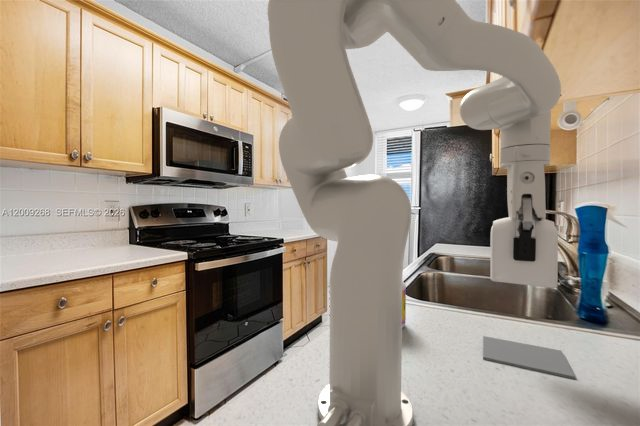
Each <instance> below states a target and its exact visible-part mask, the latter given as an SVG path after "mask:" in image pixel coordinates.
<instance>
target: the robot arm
mask: <svg viewBox="0 0 640 426" xmlns="http://www.w3.org/2000/svg"><path fill="white" fill-rule="evenodd" d="M267 18H268V34H269V42H270V44H269V45H270V48H271V55H272V59H273V62H274V65H275V69H276V71H277V75H278V78H279V80H280V84H281V87H282V89H283V92H284V95H285V98H286V101H287V104H288V106H289V108H290V112H291V117H290V118H289V119H288V120H287V121H286V123H285V124H284V126H283V127H282V129H281V131H280V135H279V137H278V151H279V152H278V153H279V158H280V162H281V164H282V167H283V170H284V172H285V176H286V177H287V179H288V182H289V185H290V186H291V189H292V192H293V193H294V197H295V199H296V201H297V204H298V206H299V207H300V208H299V209H300V210H301V213H302V214H303V217H304V218H305V221H306V222H307V224H308V227H310V229H311V230H313V232H314V233H315V234H316V235H318V236H319V237H321V238H323V239H326V240H329V241H332V242H336V243H337V246H336V250H335V252H334V257H333V258H332V263H331V268H330V274H329V275H330V276H329V375H328V376H329V383H328V384H327V385H325V387H324V388H323V389H322V390H321V392H320V394H319V395H318V400H317V413H318V417H319V420H320V421H319V422H318V424H317V426H413V424H414V407H413V406H414V405H412V402H411V399H409V397H408V396H407V394H405V393H404V392H403V391H402V360H403V356H402V353H403V351H402V349H403V348H402V347H403V346H402V343H403V328H402V281H403V271H404V259H405V251H406V247H407V242H408V239H409V233H410V228H411V223H412V205H411V201H410V198H409V195H408V193H407V192H406V190H405V189H404V188H403V186H402V185H400V183H398V182H397V181H395V180H393V179H392V178H390V177H387V176H384V175H379V174H378V175H377V174H363V175H357V176H356V175H355V176H349V177H348V176H347V174H346V173H347V172H346V170H348V169H350V168H353V167H357V166H358V165H359V164H361V163H363V162H364V161H365V160H366V159H367V158H368V156H369V155H370V154H371V153H372V149H373V144H374V134H373V129H372V126H371V122H370V119H369V117H368V116H369V115H368V112H367V111H366V107H365V105H364V102H363V99H362V96H361V92H360V91H359V88H358V84H357V81H356V79H355V76H354V72H353V70H352V68H351V64H350V60H349V57H348V53H347V50H352V49H363V48H365V47H369V46H370V45H373V44H374V43H375V42H376V41H378V40H379V39H381V37H382V36H384V35H385V34H386V33H389V34H390V36H391V37H392V38H393V39H395V41H396V42H397V43H398V44H399V45H400V46H401V47H403V48H404V51H405V50H406V52H407V53H408V54H409V55H410V56H411V57H412V58H413V59H414V60H415V61H416V62H417V64H419V65H420V66H421V67H422V68H423V69H425V70H427V71H429V72H430V71H432V72H456V71H482V72H483V71H484V72H489V73H494V74H497V75H499V76H501V78H498V79H494V81H493V80H492V81H491V82H488V83H486V84H483V85H480V86H478V87H476V88H474V89H472V90H471V91H469V92H468V93H466V94H465V96H464V97H463V99H462V100H461V102H460V104H459V115H460V118H461V120H462V121H463V123H464V124H465V125H466V126H467V127H469V128H471V129H474V130H476V131H477V130H479V131H487V130H499V131H500V146H499V147H500V150H499V151H500V153H499V155H500V156H499V157H500V158H499V162H500V163H499V168H500V169H504V170H507V171H506V172H507V173H506V174H507V175H506V177H507V178H506V179H507V180H506V182H507V183H506V185H507V187H506V191H507V192H506V196H507V213H508V217H510V218H511V219H513V220H514V221H515V237H516V238H515V237H514V239H513V259H514V260H517V261H531V262H534V261H535V258H536V238H535V217H536V218H540V220H539V221H543V220H545V219H546V218H547V214H546V213H547V211H546V210H547V208H546V207H547V206H546V176H545V167H547V166H550V165H551V129H552V128H551V127H552V126H551V124H552V121H551V120H552V110H553V109H554V108H555V106H556V105H557V104H558V102H559V100H560V98H561V93H562V86H561V80H560V77H559V74H558V73H557V70H556V68H555V67H554V64H553V63H552V62H551V61H550V60H551V59H549V58H548V56H547V55H546V53H545V52H544V51H543V49H542V48H541V47H540V45H539V44H538V43H537V41H535V40H534V39H532V38H531V37H530V36H528V35H527V34H524V32H523V33H522V32H520V31H518V30H515V29H511V28H508V27H505V26H502V25H499V24H498V25H497V24H493V23H489V22H483V21H476V20H474V19H472V18H471V17H470V16H469V15H468V14H467V13H466V12H465V10H464V9H463V8H462V7H461V5H460V4H459V3H458V1H456V0H268V3H267ZM518 218H523V220H518ZM546 220H547V219H546ZM519 224H520V225H519ZM519 228H520V230H519Z"/></svg>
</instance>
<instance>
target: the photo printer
mask: <svg viewBox="0 0 640 426" xmlns="http://www.w3.org/2000/svg"><path fill="white" fill-rule="evenodd" d="M518 220H523V218H518ZM539 220H540V218H536V217H535V238H536V258H535V261H534V262H531V261H517V260H514V259H513V239H514V237H515V221H514V220H513V219H511V218H510V217H509V216H508V217H503V218H498V219H496V220H493V221H492V226H491V228H490V237H489V238H490V239H489V241H490V244H489V245H490V246H489V248H490V252H489V253H490V255H489V257H490V260H489V261H490V272H489V273H490V274H489V275H490V281H492V282H495V283H496V282H497V283H507V284H516V285H524V286H531V287H537V288H538V287H540V288H546V289H557V288H558V284H559V283H558V279H559V277H558V276H559V275H558V274H559V273H558V266H559V265H558V262H559V261H558V259H559V256H558V255H559V249H558V247H559V243H558V242H559V240H558V239H559V233H558V229H557V227H556V226H555V222H554V221H552V220H549V219H545V220H543V221H539ZM519 225H520V224H519ZM519 230H520V228H519ZM515 238H516V237H515Z"/></svg>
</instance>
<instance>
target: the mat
mask: <svg viewBox="0 0 640 426" xmlns="http://www.w3.org/2000/svg"><path fill="white" fill-rule="evenodd" d="M482 337H483V339H482V340H483V341H482V343H483V344H482V358H483V360H487V361H489V362H495V363H500V364H503V365H509V366H513V367H517V368H522V369H527V370H531V371H536V372H540V373H545V374H550V375H553V376H559V377H563V378H568V379H571V380H572V379H573V380H576V375H575V374H574V371H573V369H572V368H571V365H570V364H569V362H568V361H567V358H566V357H565V355H564V353H563V351H562V350H560V349H554V348H549V347H544V346H539V345H533V344H528V343H522V342H518V341H512V340H506V339H502V338H496V337H491V336H484V335H483V336H482Z"/></svg>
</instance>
